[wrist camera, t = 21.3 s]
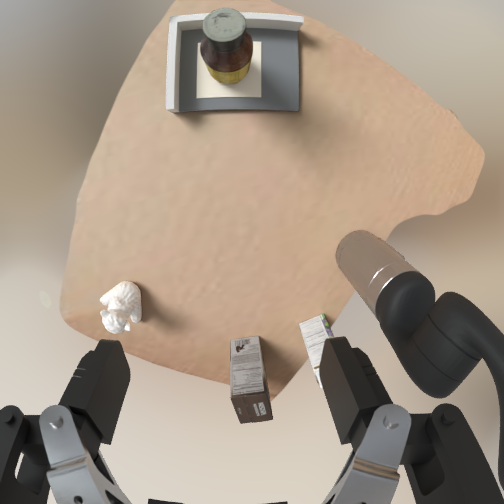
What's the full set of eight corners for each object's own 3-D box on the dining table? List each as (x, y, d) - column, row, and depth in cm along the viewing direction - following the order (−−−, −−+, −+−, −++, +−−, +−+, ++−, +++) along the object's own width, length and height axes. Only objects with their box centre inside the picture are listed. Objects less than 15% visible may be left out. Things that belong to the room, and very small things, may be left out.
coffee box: (265, 364, 61) (273, 420, 46) (237, 368, 61) (239, 425, 46) (259, 334, 57) (268, 393, 42) (229, 339, 57) (229, 398, 42)
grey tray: (296, 27, 35) (303, 16, 30) (297, 111, 41) (304, 108, 36) (175, 27, 34) (170, 16, 29) (172, 112, 40) (165, 109, 35)
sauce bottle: (221, 45, 35) (214, -14, 17) (256, 61, 36) (274, 9, 18) (200, 78, 37) (177, 34, 19) (236, 94, 38) (239, 59, 20)
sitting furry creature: (101, 298, 52) (78, 332, 41) (114, 266, 49) (88, 299, 38) (140, 320, 54) (124, 359, 43) (155, 290, 52) (139, 328, 41)
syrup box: (329, 331, 58) (351, 378, 45) (304, 341, 59) (320, 390, 45) (323, 312, 56) (346, 360, 43) (297, 323, 57) (313, 373, 43)
